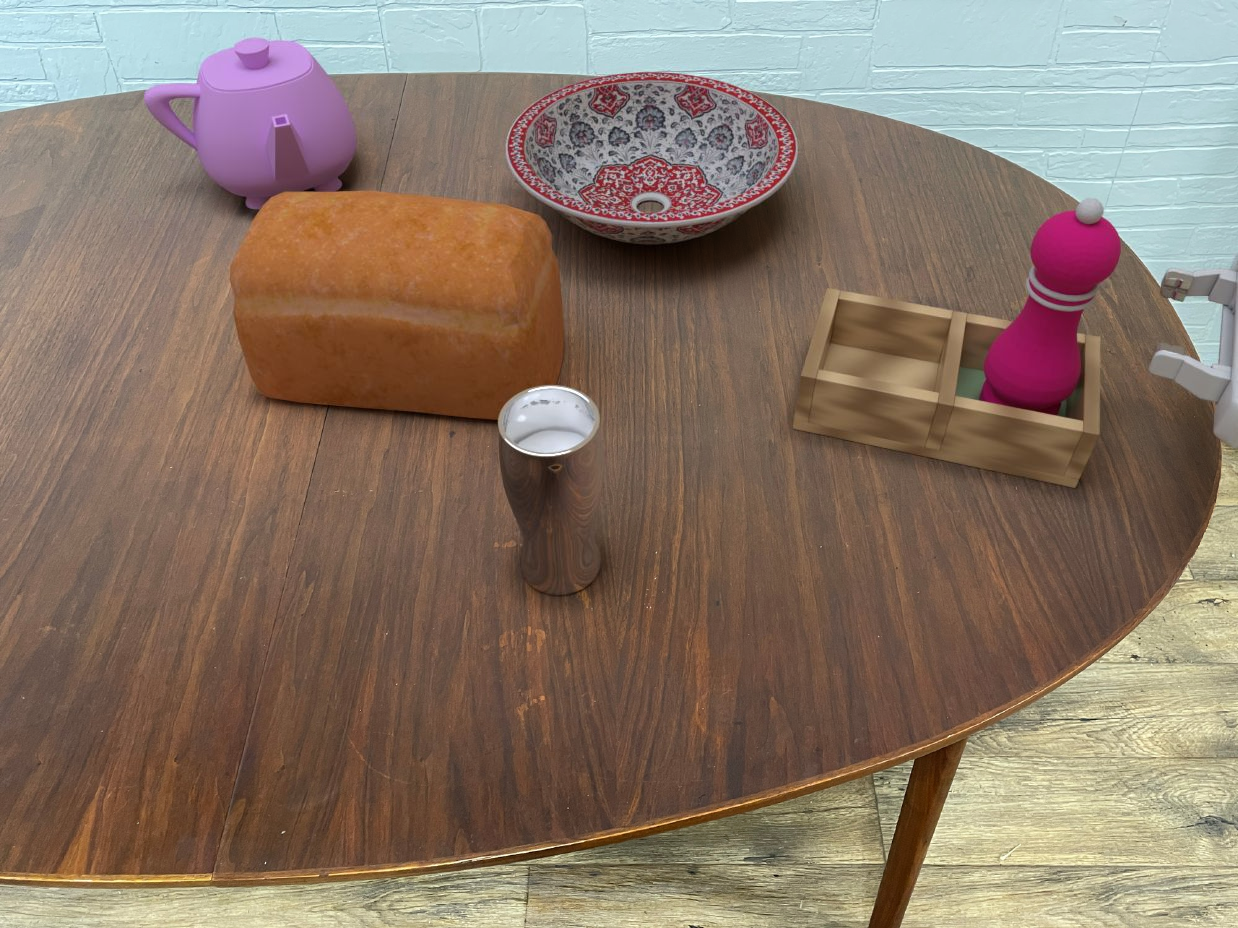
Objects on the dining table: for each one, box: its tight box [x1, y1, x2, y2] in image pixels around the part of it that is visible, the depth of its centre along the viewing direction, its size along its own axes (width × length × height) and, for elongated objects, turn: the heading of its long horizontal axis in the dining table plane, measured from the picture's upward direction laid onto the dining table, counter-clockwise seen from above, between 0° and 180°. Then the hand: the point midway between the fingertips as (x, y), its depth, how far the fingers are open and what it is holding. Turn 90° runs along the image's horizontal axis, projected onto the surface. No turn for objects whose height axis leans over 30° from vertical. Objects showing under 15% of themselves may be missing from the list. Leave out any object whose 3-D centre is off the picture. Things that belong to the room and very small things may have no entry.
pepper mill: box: [979, 197, 1122, 416], centre depth 79 cm, size 7×7×20 cm
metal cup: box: [497, 384, 605, 596], centre depth 72 cm, size 7×7×15 cm
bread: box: [229, 189, 565, 421], centre depth 87 cm, size 14×26×16 cm, turn 82°
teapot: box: [143, 37, 358, 210], centre depth 108 cm, size 20×20×15 cm
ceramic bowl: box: [504, 71, 799, 245], centre depth 107 cm, size 29×29×8 cm
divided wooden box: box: [792, 287, 1101, 489], centre depth 86 cm, size 23×12×6 cm, turn 72°
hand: (1157, 317), depth 75 cm, fingers open, 8 cm apart
